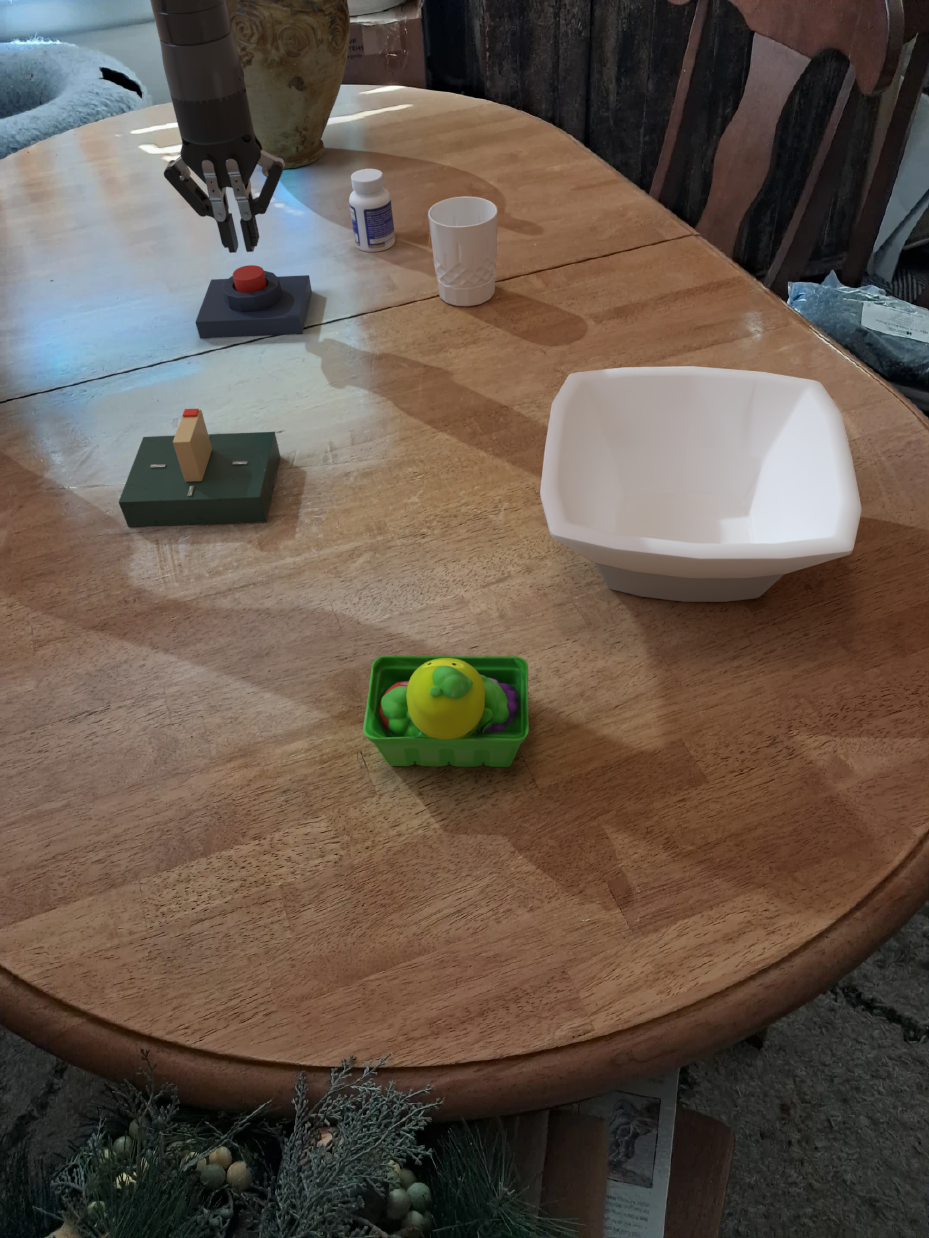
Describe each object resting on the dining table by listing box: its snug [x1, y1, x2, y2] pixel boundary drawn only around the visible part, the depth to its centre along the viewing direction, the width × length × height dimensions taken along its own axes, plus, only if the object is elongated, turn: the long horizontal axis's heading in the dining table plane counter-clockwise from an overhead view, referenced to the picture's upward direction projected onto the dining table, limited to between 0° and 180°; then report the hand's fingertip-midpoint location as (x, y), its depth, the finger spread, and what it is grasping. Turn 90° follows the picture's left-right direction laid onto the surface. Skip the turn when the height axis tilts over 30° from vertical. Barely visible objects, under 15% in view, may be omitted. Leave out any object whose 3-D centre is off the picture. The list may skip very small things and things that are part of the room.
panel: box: [118, 431, 281, 528], centre depth 94 cm, size 13×10×3 cm
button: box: [232, 264, 267, 293], centre depth 115 cm, size 4×4×2 cm
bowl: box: [539, 365, 863, 603], centre depth 83 cm, size 24×25×10 cm
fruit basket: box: [362, 655, 530, 768], centre depth 69 cm, size 11×9×11 cm
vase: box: [226, 0, 351, 170], centre depth 140 cm, size 23×23×30 cm
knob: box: [173, 408, 212, 482], centre depth 91 cm, size 5×2×5 cm, turn 179°
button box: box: [195, 270, 313, 340], centre depth 117 cm, size 12×10×4 cm
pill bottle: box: [348, 168, 396, 253], centre depth 126 cm, size 5×5×9 cm
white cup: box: [427, 195, 498, 307], centre depth 116 cm, size 8×8×10 cm
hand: (242, 248), depth 112 cm, fingers closed
